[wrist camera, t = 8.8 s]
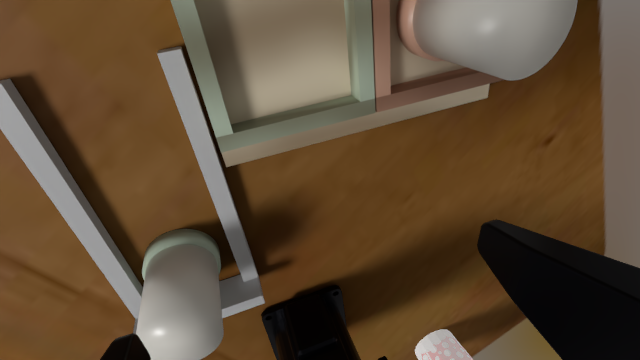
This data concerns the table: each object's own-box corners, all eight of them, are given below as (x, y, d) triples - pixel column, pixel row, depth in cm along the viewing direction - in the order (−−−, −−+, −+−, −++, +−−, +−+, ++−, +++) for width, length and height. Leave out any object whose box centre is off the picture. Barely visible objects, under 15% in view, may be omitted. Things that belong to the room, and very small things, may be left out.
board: (474, 92, 22) (501, 103, 20) (224, 157, 19) (228, 178, 17) (503, -133, 16) (547, -148, 14) (142, -94, 13) (133, -107, 11)
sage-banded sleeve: (227, 269, 23) (237, 348, 18) (160, 291, 22) (151, 380, 17) (207, 219, 20) (212, 296, 16) (131, 242, 20) (111, 330, 15)
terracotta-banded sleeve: (465, 49, 19) (562, 74, 14) (395, 63, 18) (471, 95, 13) (477, -45, 16) (598, -55, 11) (396, -34, 15) (491, -40, 11)
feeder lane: (259, 276, 24) (264, 303, 22) (142, 316, 22) (137, 348, 20) (181, 46, 15) (179, 55, 13) (-18, 83, 14) (-52, 101, 12)
